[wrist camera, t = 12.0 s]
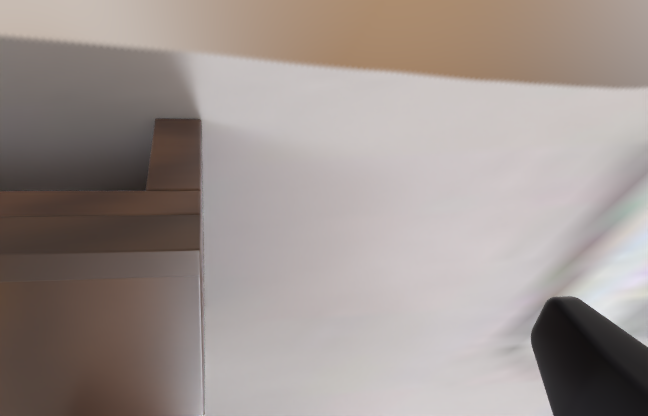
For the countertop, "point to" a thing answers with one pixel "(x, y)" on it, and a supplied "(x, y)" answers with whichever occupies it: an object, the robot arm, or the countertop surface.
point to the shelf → (107, 292)
